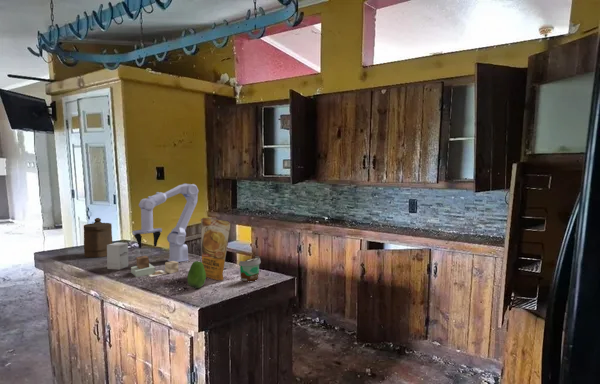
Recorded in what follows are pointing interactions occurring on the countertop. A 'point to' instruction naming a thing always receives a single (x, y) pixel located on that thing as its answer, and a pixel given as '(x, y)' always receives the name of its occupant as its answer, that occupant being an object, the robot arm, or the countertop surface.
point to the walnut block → (142, 262)
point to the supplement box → (117, 255)
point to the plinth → (143, 271)
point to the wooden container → (97, 238)
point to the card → (158, 273)
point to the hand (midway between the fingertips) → (147, 246)
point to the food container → (249, 269)
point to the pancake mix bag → (214, 246)
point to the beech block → (171, 267)
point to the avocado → (196, 275)
